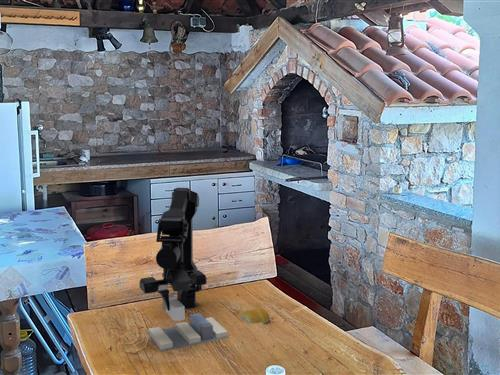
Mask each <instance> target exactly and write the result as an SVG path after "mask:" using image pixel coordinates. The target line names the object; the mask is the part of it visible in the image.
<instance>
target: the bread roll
mask: <svg viewBox="0 0 500 375" xmlns="http://www.w3.org/2000/svg"><path fill="white" fill-rule="evenodd" d="M240 317H241V319H242V321H245V322H246V323H248V324H260V323H262V324H264V325H265V324H267V323H269V321H270V314H269V312H268V311H267V310H266V309H264V308H262V307H261V308H259V307H258V308H253V309H247V310H244V311H243V312H242V313H241V315H240Z"/></svg>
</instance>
